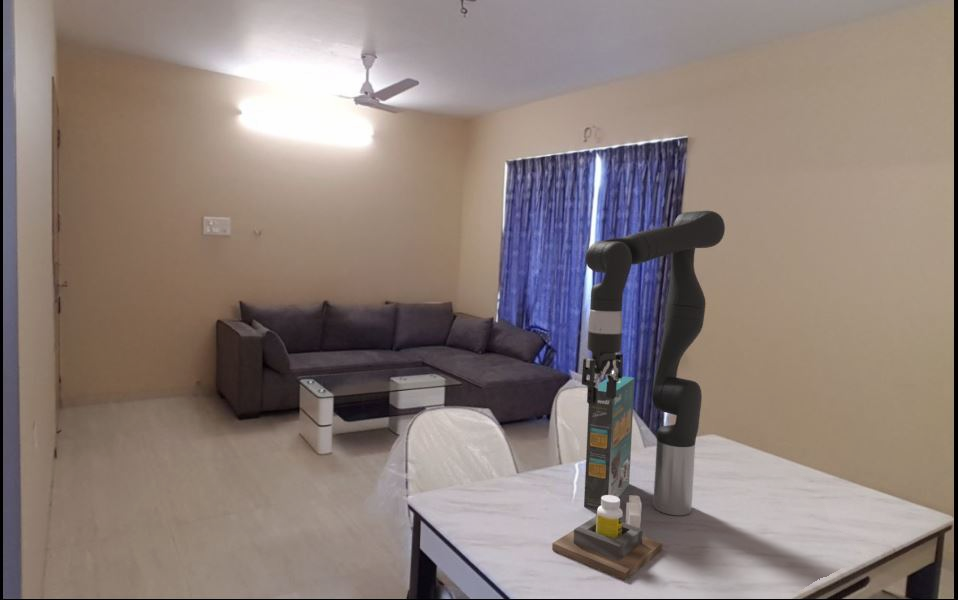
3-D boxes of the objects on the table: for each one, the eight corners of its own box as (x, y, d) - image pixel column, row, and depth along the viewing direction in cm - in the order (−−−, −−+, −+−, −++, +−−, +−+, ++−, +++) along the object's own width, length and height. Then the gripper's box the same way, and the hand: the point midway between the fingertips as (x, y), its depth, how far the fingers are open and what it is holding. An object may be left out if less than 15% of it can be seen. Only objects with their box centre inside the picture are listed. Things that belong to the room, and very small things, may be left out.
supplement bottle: (621, 550, 124) (624, 505, 123) (595, 547, 125) (597, 502, 124) (620, 538, 129) (622, 494, 128) (595, 535, 130) (597, 492, 129)
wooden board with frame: (593, 524, 139) (594, 505, 138) (662, 549, 128) (663, 529, 127) (552, 549, 126) (553, 529, 126) (624, 580, 115) (626, 558, 115)
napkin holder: (640, 545, 130) (641, 520, 130) (597, 527, 139) (598, 503, 138) (673, 525, 141) (674, 502, 140) (631, 509, 149) (632, 487, 149)
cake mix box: (607, 479, 168) (613, 375, 166) (629, 483, 165) (634, 377, 163) (583, 506, 149) (589, 389, 147) (607, 512, 146) (613, 392, 144)
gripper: (604, 334, 126) (600, 409, 127) (634, 329, 136) (631, 398, 137) (573, 330, 130) (570, 403, 132) (605, 326, 141) (602, 393, 142)
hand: (601, 400), depth 134 cm, fingers open, 8 cm apart
